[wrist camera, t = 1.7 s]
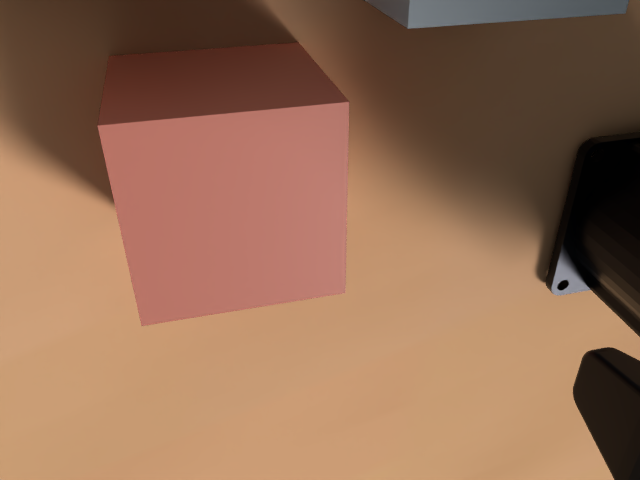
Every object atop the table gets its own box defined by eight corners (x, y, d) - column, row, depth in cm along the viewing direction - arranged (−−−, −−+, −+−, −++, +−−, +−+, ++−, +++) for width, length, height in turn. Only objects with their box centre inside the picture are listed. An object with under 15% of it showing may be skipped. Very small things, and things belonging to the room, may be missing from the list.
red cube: (302, 200, 19) (345, 292, 15) (141, 220, 18) (141, 325, 14) (297, 41, 16) (348, 101, 12) (109, 55, 15) (97, 125, 11)
